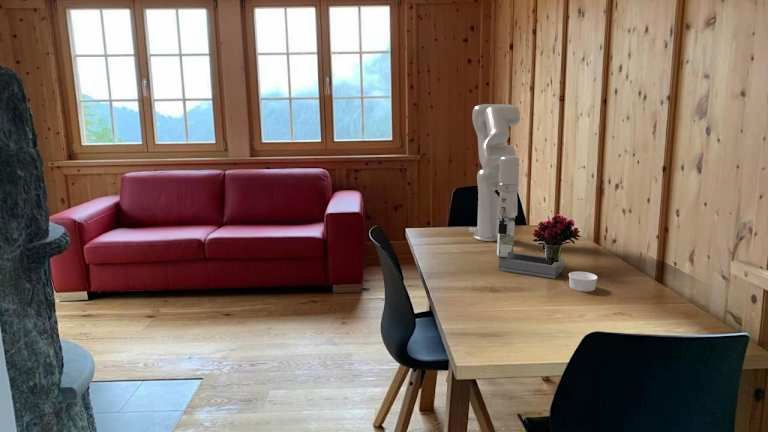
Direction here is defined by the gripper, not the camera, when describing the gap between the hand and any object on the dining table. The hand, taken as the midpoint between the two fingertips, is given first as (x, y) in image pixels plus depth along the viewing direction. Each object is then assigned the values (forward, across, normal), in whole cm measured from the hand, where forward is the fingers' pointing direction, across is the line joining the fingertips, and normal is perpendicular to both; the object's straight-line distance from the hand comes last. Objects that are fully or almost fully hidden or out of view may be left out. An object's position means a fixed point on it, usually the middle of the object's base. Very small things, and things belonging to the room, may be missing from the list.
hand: (506, 231), depth 213 cm
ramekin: (+11, -24, -34) cm, 43 cm away
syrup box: (+10, +1, 0) cm, 10 cm away
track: (+10, -13, -14) cm, 21 cm away
